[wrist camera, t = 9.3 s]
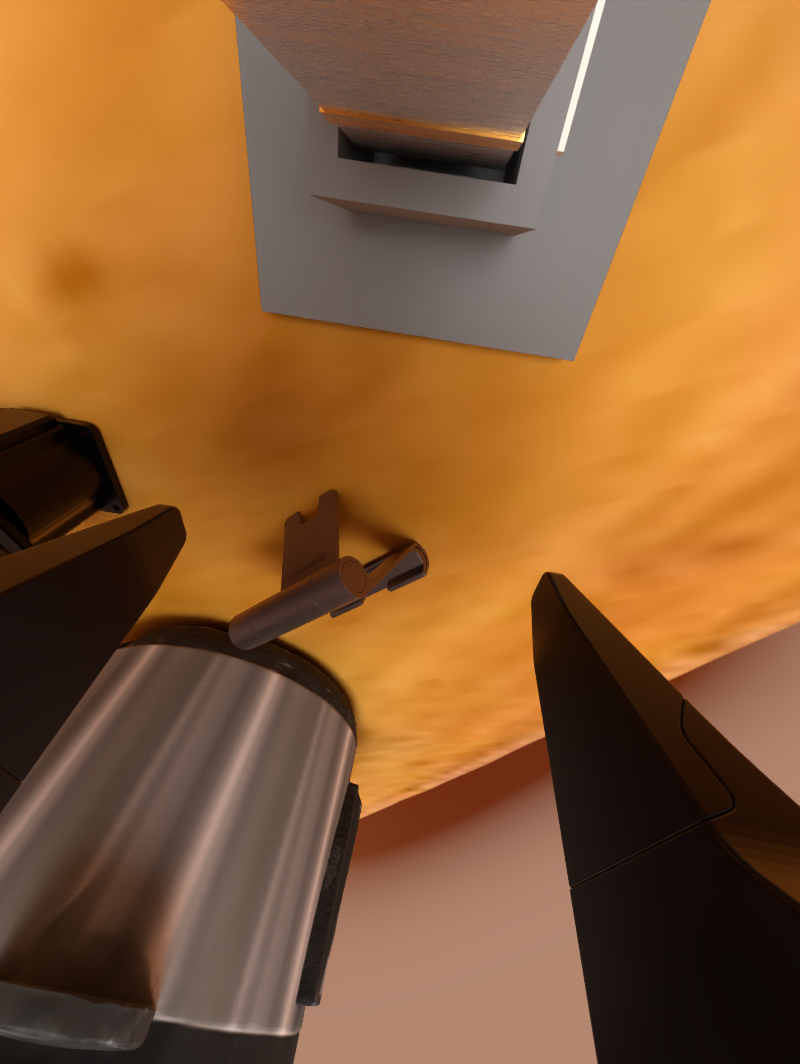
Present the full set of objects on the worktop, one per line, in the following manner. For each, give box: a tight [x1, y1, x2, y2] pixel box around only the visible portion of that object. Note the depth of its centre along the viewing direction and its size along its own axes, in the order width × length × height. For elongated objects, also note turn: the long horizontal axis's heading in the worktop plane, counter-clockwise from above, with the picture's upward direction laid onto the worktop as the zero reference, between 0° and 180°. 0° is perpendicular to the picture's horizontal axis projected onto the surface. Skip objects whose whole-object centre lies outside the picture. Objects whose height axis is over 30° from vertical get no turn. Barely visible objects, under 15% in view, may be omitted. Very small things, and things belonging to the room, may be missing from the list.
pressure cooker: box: [0, 625, 362, 1064], centre depth 29 cm, size 30×28×32 cm
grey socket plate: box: [235, 0, 711, 361], centre depth 11 cm, size 14×14×6 cm
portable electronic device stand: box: [229, 490, 429, 650], centre depth 23 cm, size 9×8×8 cm
